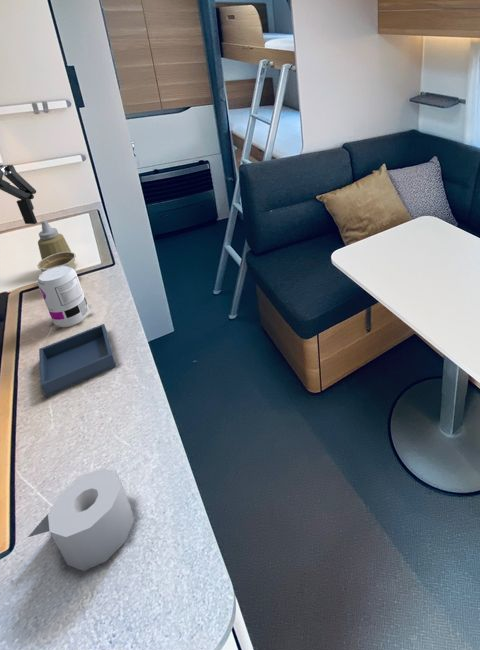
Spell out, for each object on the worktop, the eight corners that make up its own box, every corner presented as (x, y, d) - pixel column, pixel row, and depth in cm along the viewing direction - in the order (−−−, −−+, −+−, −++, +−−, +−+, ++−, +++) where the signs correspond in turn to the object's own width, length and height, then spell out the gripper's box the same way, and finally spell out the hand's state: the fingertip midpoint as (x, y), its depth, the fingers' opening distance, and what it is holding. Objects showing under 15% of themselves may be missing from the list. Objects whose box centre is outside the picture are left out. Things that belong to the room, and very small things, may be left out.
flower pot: (65, 294, 122) (56, 270, 119) (38, 291, 124) (28, 267, 120) (90, 276, 131) (82, 252, 127) (65, 273, 132) (57, 250, 129)
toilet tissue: (45, 527, 66) (27, 494, 63) (137, 492, 71) (125, 459, 68) (26, 595, 59) (4, 561, 55) (130, 551, 63) (116, 517, 60)
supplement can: (50, 332, 107) (31, 285, 102) (58, 313, 114) (40, 268, 109) (87, 323, 110) (70, 277, 105) (92, 305, 117) (76, 260, 112)
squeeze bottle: (49, 280, 129) (30, 230, 122) (44, 270, 134) (25, 222, 127) (79, 269, 134) (62, 220, 127) (73, 260, 139) (56, 212, 132)
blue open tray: (44, 360, 99) (39, 348, 97) (107, 334, 106) (104, 323, 105) (46, 397, 89) (40, 385, 88) (116, 366, 97) (112, 354, 95)
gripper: (-72, 175, 80) (-29, 266, 88) (35, 138, 103) (61, 213, 111) (-107, 175, 81) (-61, 265, 89) (7, 138, 104) (36, 213, 112)
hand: (7, 236), depth 100 cm, fingers open, 13 cm apart
